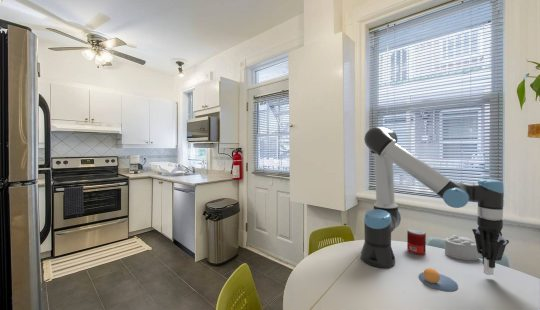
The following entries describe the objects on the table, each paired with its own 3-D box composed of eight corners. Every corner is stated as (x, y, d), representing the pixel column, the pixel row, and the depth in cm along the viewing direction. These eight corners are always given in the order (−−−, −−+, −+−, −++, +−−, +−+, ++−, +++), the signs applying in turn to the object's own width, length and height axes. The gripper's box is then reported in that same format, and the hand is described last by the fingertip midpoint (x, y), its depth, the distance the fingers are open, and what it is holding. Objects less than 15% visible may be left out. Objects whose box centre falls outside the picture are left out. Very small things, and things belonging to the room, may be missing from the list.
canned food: (428, 255, 115) (428, 234, 114) (410, 254, 116) (410, 233, 116) (421, 248, 122) (421, 228, 122) (405, 247, 124) (405, 227, 123)
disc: (411, 273, 100) (411, 272, 100) (440, 271, 101) (440, 271, 101) (434, 292, 87) (434, 291, 87) (467, 290, 88) (467, 289, 88)
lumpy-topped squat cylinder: (482, 259, 110) (482, 242, 109) (454, 260, 110) (455, 242, 109) (463, 249, 120) (464, 233, 120) (438, 250, 120) (439, 234, 120)
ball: (429, 263, 96) (434, 274, 96) (417, 269, 96) (423, 280, 96) (439, 270, 90) (445, 282, 91) (428, 277, 90) (433, 288, 90)
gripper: (516, 222, 88) (514, 282, 89) (482, 212, 101) (481, 265, 102) (497, 223, 87) (496, 283, 88) (466, 213, 100) (465, 265, 101)
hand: (488, 273), depth 95 cm, fingers closed
